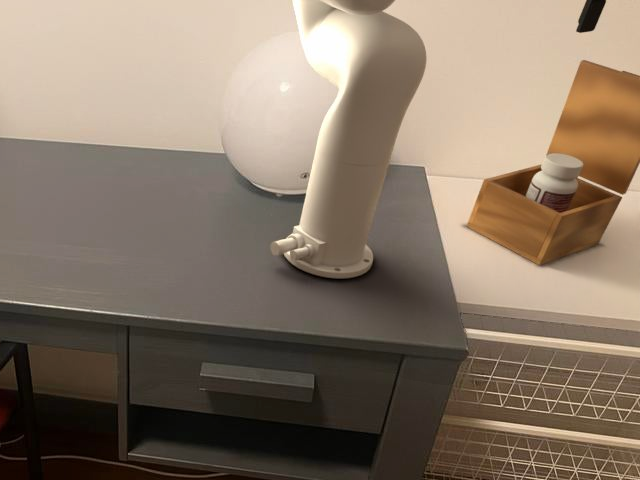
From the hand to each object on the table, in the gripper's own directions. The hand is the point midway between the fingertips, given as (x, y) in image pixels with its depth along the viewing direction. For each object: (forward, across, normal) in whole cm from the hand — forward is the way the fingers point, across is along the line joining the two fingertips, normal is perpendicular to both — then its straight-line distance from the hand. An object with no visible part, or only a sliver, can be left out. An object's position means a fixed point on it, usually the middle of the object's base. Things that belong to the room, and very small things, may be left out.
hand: (618, 41), depth 97 cm
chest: (+28, 0, 0) cm, 28 cm away
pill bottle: (+28, 0, 0) cm, 28 cm away
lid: (+12, 0, +6) cm, 14 cm away
